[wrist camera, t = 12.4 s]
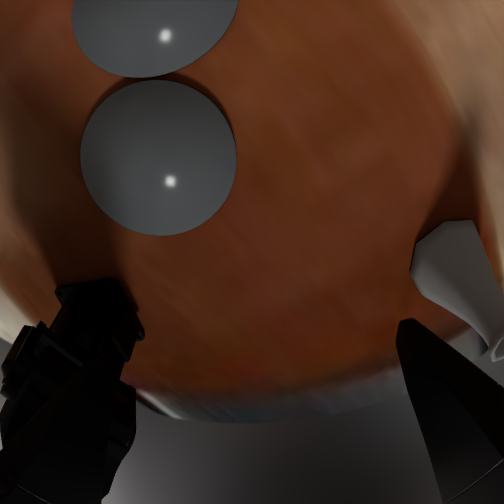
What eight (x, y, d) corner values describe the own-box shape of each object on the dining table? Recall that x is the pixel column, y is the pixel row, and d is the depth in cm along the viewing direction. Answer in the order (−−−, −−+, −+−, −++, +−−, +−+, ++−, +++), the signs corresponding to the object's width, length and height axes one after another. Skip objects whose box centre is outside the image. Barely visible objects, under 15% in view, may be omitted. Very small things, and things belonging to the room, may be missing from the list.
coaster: (112, 243, 22) (109, 246, 21) (66, 109, 16) (62, 110, 16) (250, 217, 21) (250, 221, 20) (218, 61, 16) (217, 61, 15)
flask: (402, 236, 22) (470, 332, 13) (477, 204, 20) (559, 279, 12) (412, 303, 25) (459, 395, 17) (478, 273, 24) (536, 351, 15)
